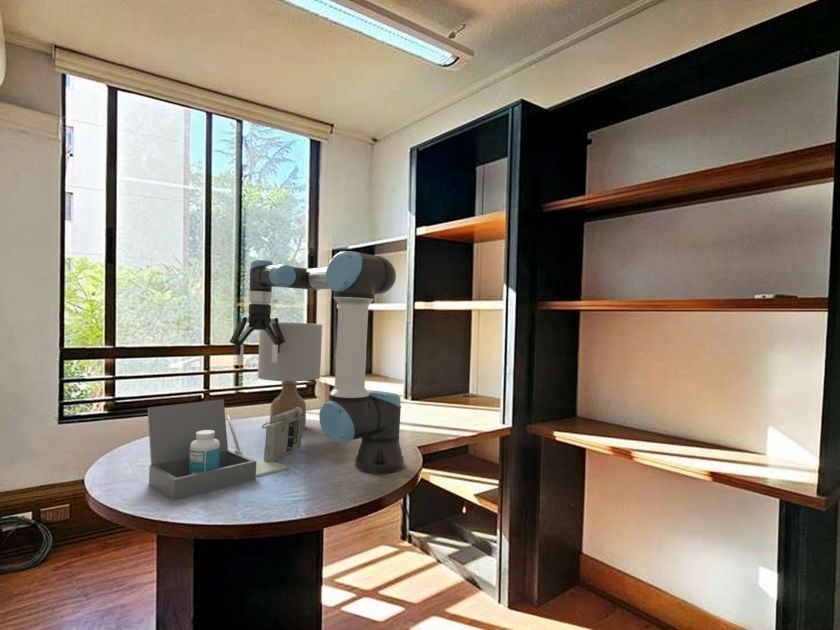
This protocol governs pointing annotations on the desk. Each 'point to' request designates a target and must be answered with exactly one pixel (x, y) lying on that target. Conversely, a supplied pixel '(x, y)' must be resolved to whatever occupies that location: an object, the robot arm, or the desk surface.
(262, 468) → the mat
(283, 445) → the geiger counter
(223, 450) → the case
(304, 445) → the desk surface
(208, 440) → the pill bottle
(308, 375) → the lamp
